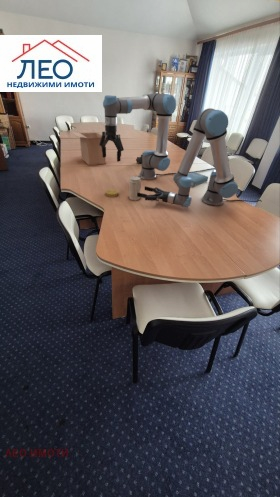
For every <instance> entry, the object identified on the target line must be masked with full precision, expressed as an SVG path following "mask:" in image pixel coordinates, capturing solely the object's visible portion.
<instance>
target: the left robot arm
mask: <svg viewBox="0 0 280 497" xmlns="http://www.w3.org/2000/svg"><path fill="white" fill-rule="evenodd" d="M102 106H103V109H104V124H105V125H104V129H105V130H104V131H101V132H102V138H101V141H100V144H99V145H100V146H101V147H102V152H103V158H104V157H106V158H107V147H106V146H107V145H108V143H109V141H110V142H112V143H113V145H114V146H115V148H116V162H117V163H119V162H121V157H122V152H123V151H124V150H125V149H124V146H123V142H122V140H121V134H117V132H118V115H121V114H122V115H123V114H126V115H128V114H131V113H132V112H133V110H144V111H151V112H155V113H156V117H157V131H156V144H155V145H156V146H155V147H156V148H155V150H144V151H143V152H142V154H143V156H142V164H141V169H140V172H139V174H138V175H139V176H138V177H140V178H141V179H142V180H146V181H154V180H156V178H157V176H168V175H175V174H176V173H177V172H172V173H171V172H170V173H169V172H168V173H163V174H161V173H156V170H157V171H161V172H165V171H166V170H167V169H168V168H169V166H170V165H171V159H170V157H168V156H169V153H168V151H167V150H168V139H169V130H170V128H169V127H170V119H171V117H172V116H173V114H174V113H175V111H176V110H177V100H176V98H175V96H174V95H172V94H170V93H159V92H154V93H149V94H143V95H142V96H127V97H126V96H125V97H117V96H116V95H111V94H108V95H107V94H106V95H104V98H103V101H102ZM105 137H106V138H105ZM210 170H215V167H213V168H212V167H211V168H207V169H201V170H195V171H189V173H192V172H195V173H199V172H205V171H210ZM189 173H188V174H189ZM141 179H140V180H141Z"/></svg>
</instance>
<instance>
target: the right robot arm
mask: <svg viewBox="0 0 280 497" xmlns="http://www.w3.org/2000/svg"><path fill="white" fill-rule="evenodd" d="M228 127H229V117H228V115H227V113H226V112H224V111H223V110H221V109H215V108H213V107H212V108H211V107H209V108H206V109H204V110H203V111H202V112H201V113H200V114H199V115H198V116H197V118H196V121H195V124H194V126H193V128H192V135H191V138H190V140H189V143H188V144H187V148H186V150H185V153H184V155H183V157H182V160H181V162H180V165H179V167H178V169H177V172H175V173H176V174H173V182H174V183H175V185H176V187H177V188H178V191H177V192H170V191H167V190H163V189H162V188H158V187H150V186H146V185H145V186H144V191H146V192H150V193H154V194H146V193H142V192H140V193H137V196H138V197H140V198H141V199H144V200H145V201H157V202H159V201H160V200H161V201H162V202H163V203H167V204H171V205H175V206H180V207H182V208H189V207H190V206H191V203H192V196H191V195H190V191H191V188H192V187H191V182H192V179H191V178H189V177H187V176H188V174H189V172H191V169H192V166H193V164H194V162H195V159H196V157H197V155H198V153H199V151H200V149H201V146H202V145H203V142H204V139H206V141H208V142H209V146H210V150H211V151H210V152H211V155H212V156H211V157H212V161H213V165H214V168H215V169H214V170H212V171H211V173H210V175H209V179H208V184H207V188H206V191H205V193H203V195H202V199H201V201H202V202H203V203H204V204H207V205H210V206H221V205H223V202H224V201H227V202H250V203H258V202H262V200H261V199H257V200H248V199H247V200H246V199H232V200H231V199H230V198H233V197H234V196H235V195H236V193H237V192H238V190H239V185H238V183H237V182H236V181H235V177H234V176H235V175H234V173H232V172H231V168H230V161H229V155H228V149H227V148H228V147H227V143H226V135H227V133H228V130H227V128H228Z"/></svg>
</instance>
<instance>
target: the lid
mask: <svg viewBox="0 0 280 497" xmlns="http://www.w3.org/2000/svg"><path fill="white" fill-rule="evenodd" d="M118 194H119V193H118V191H117V189H107V190H106V191H105V196H107V197H109V198H110V197H111V198H114V197H117V196H118Z"/></svg>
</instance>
